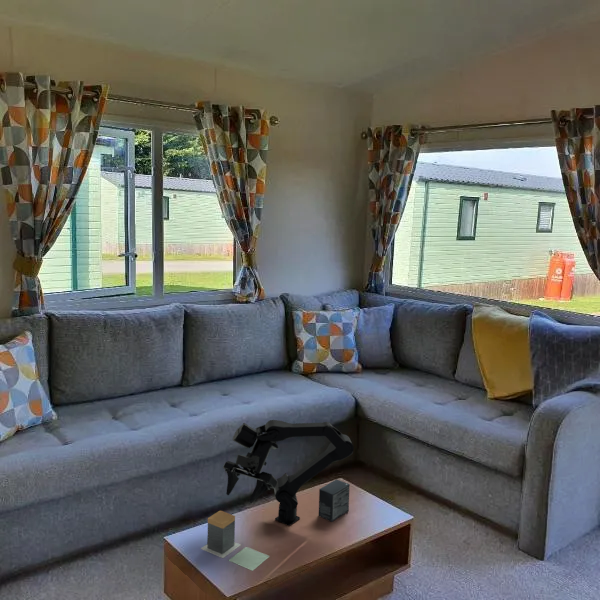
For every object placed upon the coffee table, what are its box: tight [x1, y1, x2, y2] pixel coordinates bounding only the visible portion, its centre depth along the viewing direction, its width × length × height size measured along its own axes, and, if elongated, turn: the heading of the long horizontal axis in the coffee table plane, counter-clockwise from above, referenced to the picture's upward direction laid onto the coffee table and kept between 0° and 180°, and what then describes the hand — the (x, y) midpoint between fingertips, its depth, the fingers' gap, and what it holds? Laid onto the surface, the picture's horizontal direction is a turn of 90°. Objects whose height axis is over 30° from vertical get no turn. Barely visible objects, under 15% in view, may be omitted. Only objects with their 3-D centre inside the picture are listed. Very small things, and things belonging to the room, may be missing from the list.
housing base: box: [206, 520, 236, 554], centre depth 184 cm, size 6×6×8 cm
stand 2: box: [228, 546, 270, 572], centre depth 179 cm, size 9×9×1 cm
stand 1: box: [200, 541, 242, 559], centre depth 185 cm, size 9×9×1 cm
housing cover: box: [207, 510, 236, 529], centre depth 184 cm, size 6×6×3 cm
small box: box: [318, 479, 350, 523], centre depth 209 cm, size 11×6×10 cm, turn 141°
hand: (238, 498), depth 190 cm, fingers open, 9 cm apart
